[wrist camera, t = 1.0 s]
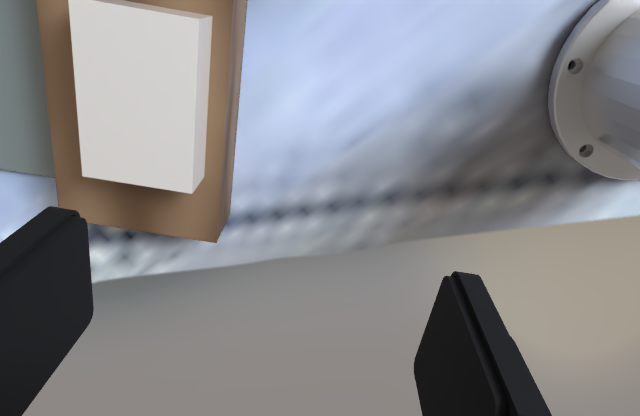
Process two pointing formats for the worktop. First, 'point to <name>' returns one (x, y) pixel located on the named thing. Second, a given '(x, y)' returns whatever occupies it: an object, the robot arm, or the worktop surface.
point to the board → (134, 200)
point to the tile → (141, 92)
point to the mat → (23, 92)
